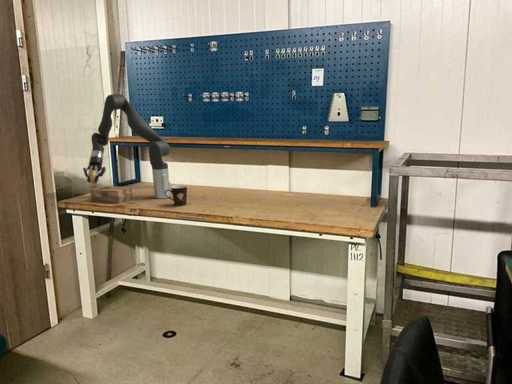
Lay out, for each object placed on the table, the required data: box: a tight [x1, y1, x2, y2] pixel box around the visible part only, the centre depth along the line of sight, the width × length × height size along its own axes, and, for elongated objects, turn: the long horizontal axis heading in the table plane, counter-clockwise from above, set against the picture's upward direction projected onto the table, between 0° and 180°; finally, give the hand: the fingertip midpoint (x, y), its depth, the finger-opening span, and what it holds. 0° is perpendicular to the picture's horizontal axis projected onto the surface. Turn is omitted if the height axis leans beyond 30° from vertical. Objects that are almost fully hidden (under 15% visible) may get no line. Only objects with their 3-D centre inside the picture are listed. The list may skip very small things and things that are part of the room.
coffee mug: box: [165, 184, 188, 207], centre depth 225 cm, size 12×9×10 cm
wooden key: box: [88, 170, 98, 190], centre depth 252 cm, size 4×4×14 cm
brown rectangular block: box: [89, 185, 133, 204], centre depth 242 cm, size 12×20×7 cm, turn 69°
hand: (92, 181), depth 250 cm, fingers closed on wooden key, 3 cm apart
